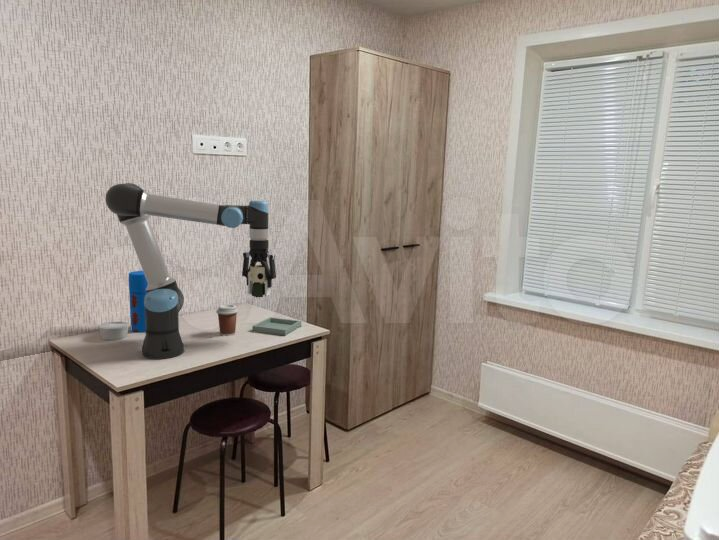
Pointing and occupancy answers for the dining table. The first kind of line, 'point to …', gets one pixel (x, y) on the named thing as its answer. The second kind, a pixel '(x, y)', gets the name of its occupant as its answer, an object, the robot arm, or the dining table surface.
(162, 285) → the robot arm
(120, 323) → the ramekin
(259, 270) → the character mug
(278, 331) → the tray
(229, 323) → the coffee cup
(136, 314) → the thermos
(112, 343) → the dining table surface
